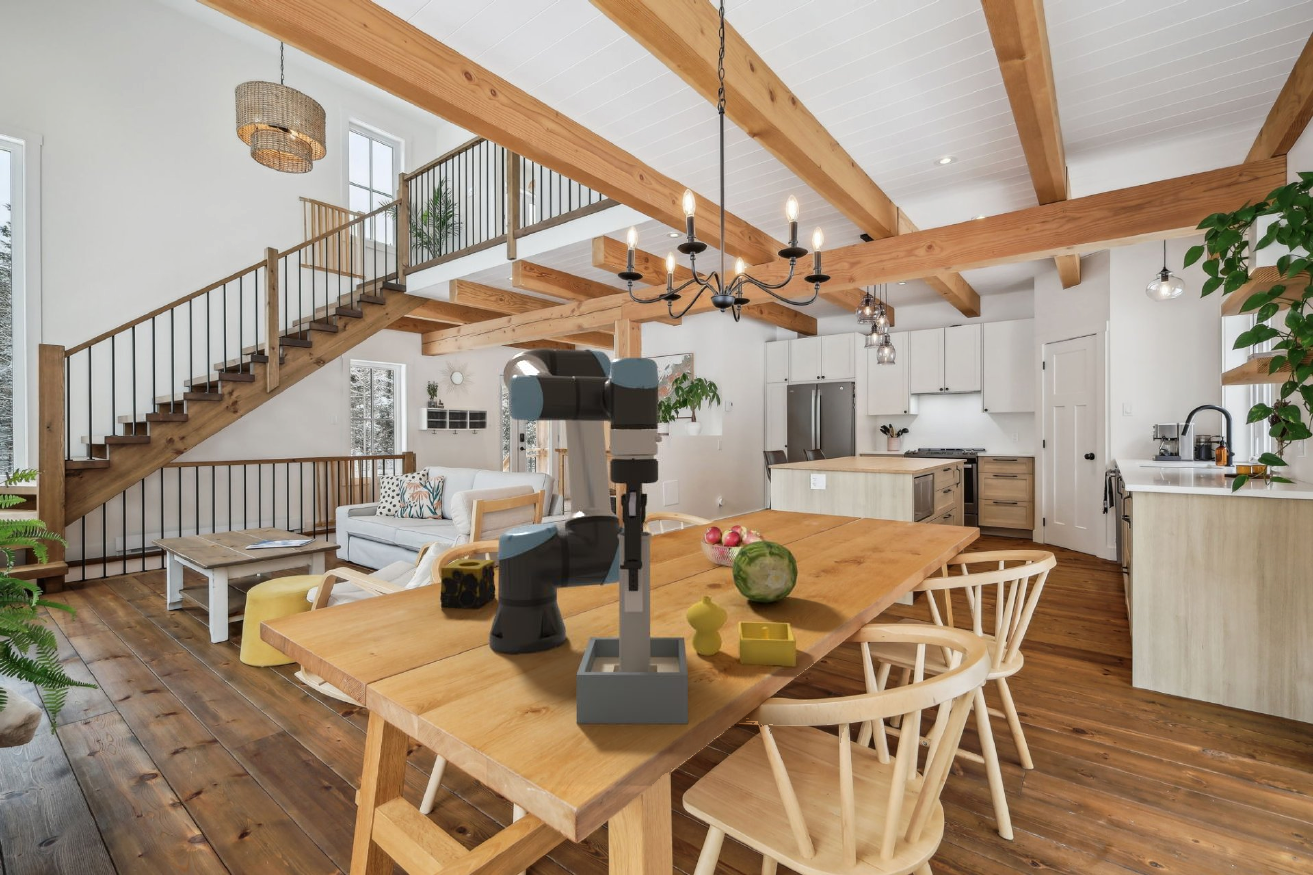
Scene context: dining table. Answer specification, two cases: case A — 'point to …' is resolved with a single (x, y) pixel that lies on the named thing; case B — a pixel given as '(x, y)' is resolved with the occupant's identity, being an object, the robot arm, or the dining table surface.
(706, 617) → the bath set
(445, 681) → the dining table surface
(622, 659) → the tube
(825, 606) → the dining table surface
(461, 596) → the yellow and black cube
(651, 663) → the box
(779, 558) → the lettuce
